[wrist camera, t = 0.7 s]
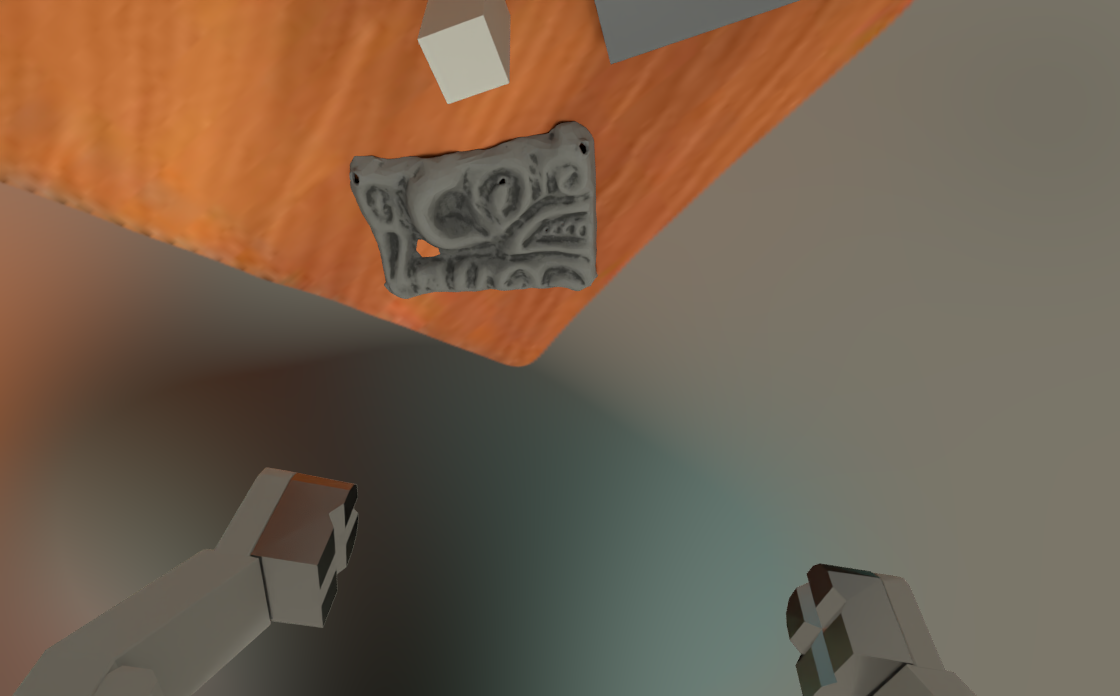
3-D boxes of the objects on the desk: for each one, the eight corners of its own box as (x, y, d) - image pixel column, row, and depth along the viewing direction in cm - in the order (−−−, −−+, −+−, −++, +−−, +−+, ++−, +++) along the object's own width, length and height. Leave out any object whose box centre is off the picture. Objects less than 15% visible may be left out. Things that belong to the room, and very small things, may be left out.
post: (461, 12, 50) (446, 108, 38) (437, -49, 46) (412, 37, 35) (514, -7, 49) (513, 85, 38) (492, -70, 46) (485, 10, 35)
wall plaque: (593, 115, 57) (597, 136, 54) (598, 276, 71) (601, 299, 68) (334, 138, 57) (326, 161, 55) (390, 293, 71) (385, 318, 68)
